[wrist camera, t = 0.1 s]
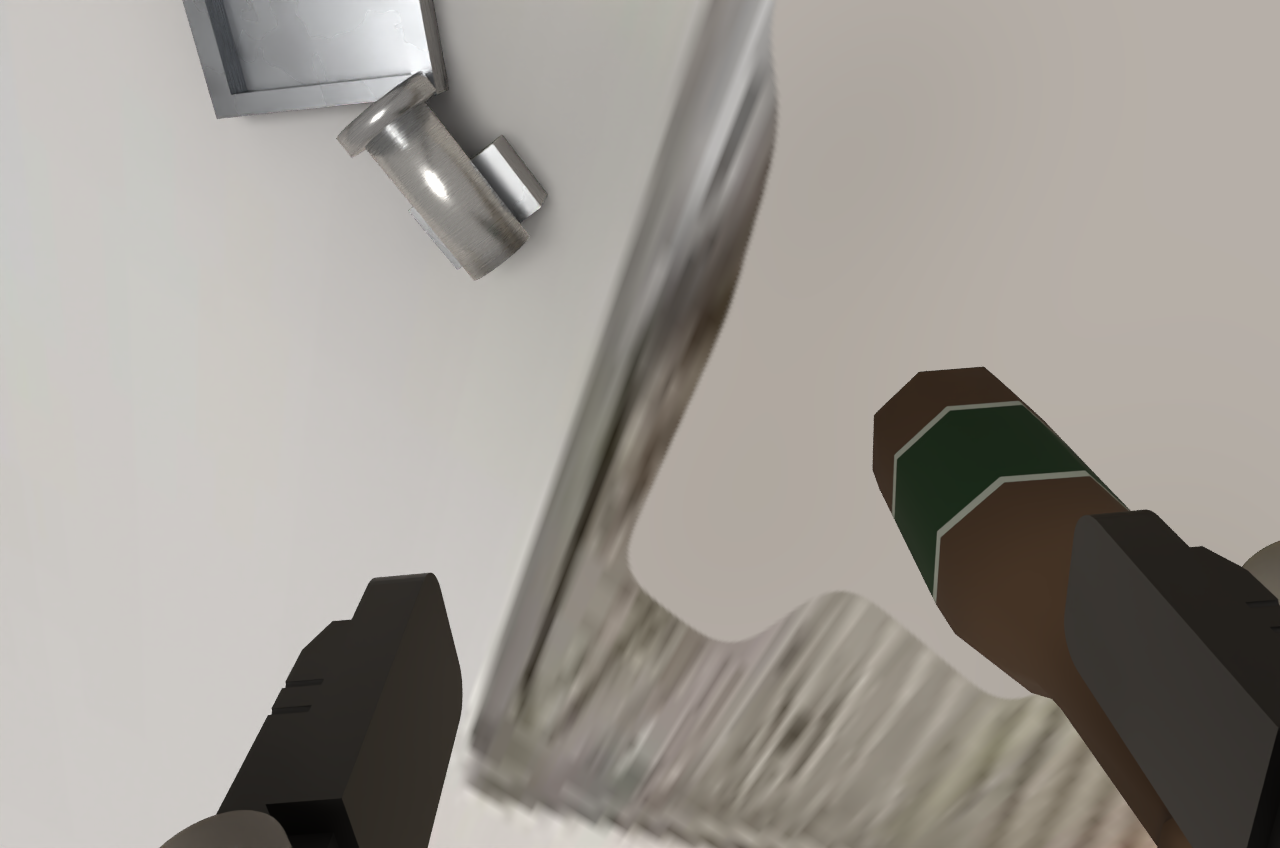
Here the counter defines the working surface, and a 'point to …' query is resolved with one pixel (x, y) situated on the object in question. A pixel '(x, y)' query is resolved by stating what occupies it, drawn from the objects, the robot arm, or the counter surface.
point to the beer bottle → (1003, 543)
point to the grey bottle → (1267, 568)
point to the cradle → (311, 51)
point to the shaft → (448, 178)
